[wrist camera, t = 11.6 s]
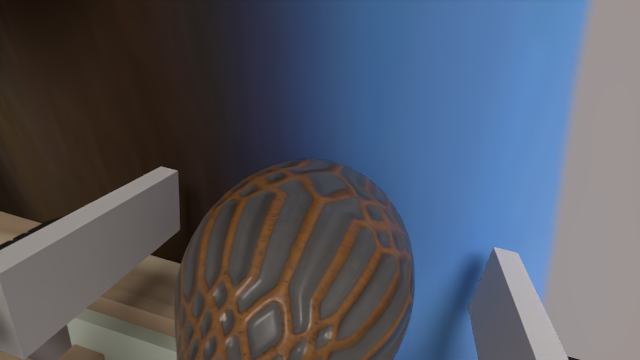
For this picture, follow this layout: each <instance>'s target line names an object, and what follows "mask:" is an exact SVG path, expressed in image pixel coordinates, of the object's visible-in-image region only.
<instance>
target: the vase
mask: <svg viewBox="0 0 640 360" xmlns="http://www.w3.org/2000/svg"><path fill="white" fill-rule="evenodd" d="M414 287H415V275H414V261H413V254H412V248H411V243H410V240H409V236H408V233H407V231H406V228H405V226H404V224H403V221H402V219H401V217H400V215H399V213H398V212H397V210H396V208H395V207H394V205H393V204H392V203H391V201H390V200H389V198H388V197H387V196H386V195H385V194H384V192H383V191H382V190H381V189H380V188H379V187H378V186H377V185H376V184H374V183H373V182H372V181H371V180H369V179H368V178H367V177H365V176H364V175H362V174H361V173H359V172H357V171H355V170H353V169H351V168H349V167H347V166H344V165H341V164H338V163H335V162H331V161H326V160H319V159H299V160H290V161H285V162H281V163H277V164H274V165H271V166H268V167H265V168H263V169H261V170H259V171H257V172H255V173H253V174H251V175H250V176H248V177H247V178H245V179H243V180H242V181H240V182H239V183H238V184H236V185H235V186H234V187H232V188H231V189H230V190H229V191H228V192H226V193H225V194H224V195H223V196H222V197H221V198H220V199H219V200H218V201H217V202H216V203H215V204H214V205H213V206H212V207H211V209H210V210H209V211H208V213H207V214H206V215H205V217H204V218H203V219H202V221H201V222H200V224H199V226H198V227H197V229H196V231H195V232H194V234H193V236H192V238H191V240H190V242H189V244H188V246H187V249H186V251H185V253H184V256H183V259H182V261H181V264H180V268H179V272H178V275H177V280H176V286H175V295H174V323H175V341H176V355H177V360H393V359H394V357H395V355H396V353H397V351H398V349H399V347H400V345H401V342H402V340H403V338H404V335H405V332H406V329H407V327H408V323H409V320H410V316H411V311H412V307H413V301H414Z"/></svg>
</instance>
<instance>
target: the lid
mask: <svg viewBox="0 0 640 360" xmlns="http://www.w3.org/2000/svg"><path fill="white" fill-rule="evenodd" d="M67 327H68V331H69V335H70V340H71V344H72V347H71V348H70V349H69V350H67V351H66V352H65V353H64V354H63V355H62V356H61V357H60V358H59V359H58V360H177V355H176V341H175V338H174V337H171V336H168V335H165V334H162V333H159V332H156V331H153V330H150V329H147V328H144V327H141V326H138V325H135V324H132V323H129V322H126V321H123V320H120V319H117V318H114V317H111V316H108V315H105V314H102V313H99V312H96V311H93V310H90V309H87V308H86V309H85V310H83V311H82V312H81V313H80V314H79V315H77V316H76V317H75V318H74V319H73V320H71V321H70V322H69V323H68V324H67Z"/></svg>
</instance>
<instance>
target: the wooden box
mask: <svg viewBox="0 0 640 360" xmlns="http://www.w3.org/2000/svg"><path fill="white" fill-rule="evenodd" d="M40 224H42V223H38V222H35V221H32V220H28V219H25V218H21V217H18V216H14V215H11V214H7V213H4V212H1V211H0V245H1V244H3V243H5V242H7V241H9V240H11V241H12V240H13V238H14V237H16V236H18V235H20V234H22V233H27V232H28V230H30V229H32V228H34V227H36V226H38V225H40ZM179 268H180V264H179V263H176V262H173V261H169V260H166V259H162V258H159V257H155V256H152V255H149V256H148V257H147V258H146V259H144V260H143V261H142V262H141V263H140V264H138V265H137V266H136V267H135V268H134V269H132V270H131V271H130V272H129V273H128V274H126V275H125V276H124V277H123V278H122V279H120V280H119V281H118V282H117V283H116V284H114V285H113V286H112V287H111V288H110V289H108V290H107V291H106V292H105V293H104V294H103V295H101V296H100V297H99V298H98V299H97V300H95V301H94V302H93V303H92V304H91V305H89V306H88V307H87V309H90V310H93V311H96V312H99V313H102V314H105V315H108V316H111V317H114V318H117V319H120V320H123V321H126V322H129V323H132V324H135V325H138V326H141V327H144V328H147V329H150V330H153V331H156V332H159V333H162V334H165V335H168V336H171V337H174V338H175V323H174V295H175V286H176V280H177V275H178V272H179ZM71 347H72V344H71V340H70V335H69V331H68V327H67V325H65V326H64V327H63V328H62V329H61V330H59V331H58V332H57V333H56V334H55V335H53V336H52V337H51V338H50V339H49V340H47V341H46V342H45V343H44V344H43V345H41V346H40V347H39V348H38V349H37V350H35V351H34V352H33V353H32V354H31V355H29V356H28V357H27V358H26V359H25V360H58V359H59V358H60V357H61V356H62V355H63V354H64V353H65V352H66V351H67V350H69V349H70V348H71ZM0 360H24V359H21V358H18V357H16V356H13V355H10V354H8V353H5V352H2V351H0Z"/></svg>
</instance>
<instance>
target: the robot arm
mask: <svg viewBox="0 0 640 360" xmlns="http://www.w3.org/2000/svg"><path fill="white" fill-rule="evenodd" d="M179 230H180V211H179V183H178V171H177V170H173V169H169V168H165V167H159V168H157V169H155V170H153V171H151V172H149V173H147V174H146V175H144V176H142V177H140V178H138V179H136V180H134V181H132V182H130V183H128V184H126V185H124V186H123V187H121V188H119V189H117V190H115V191H113V192H111V193H109V194H107V195H105V196H103V197H101V198H99V199H98V200H96V201H94V202H92V203H90V204H88V205H86V206H84V207H82V208H80V209H78V210H76V211H75V212H73V213H71V214H69V215H67V216H63V217H60V218H57V219H53V220H50V221H47V222H44V223H42V224H40V225H38V226H36V227H34V228H32V229H30V230H28V232H27V233H22V234H20V235H18V236H16V237H14V238H13V240H12V241H11V240H9V241H7V242H5V243H3V244H1V245H0V351H2V352H5V353H8V354H10V355H13V356H16V357H18V358H21V359H24V360H25V359H26V358H27V357H28V356H29V355H31V354H32V353H33V352H34V351H35V350H37V349H38V348H39V347H40V346H41V345H43V344H44V343H45V342H46V341H47V340H49V339H50V338H51V337H52V336H53V335H55V334H56V333H57V332H58V331H59V330H61V329H62V328H63V327H64V326H65V325H67V324H68V323H69V322H70V321H71V320H73V319H74V318H75V317H76V316H77V315H79V314H80V313H81V312H82V311H83V310H85V309H86V308H87V307H88V306H89V305H91V304H92V303H93V302H94V301H95V300H97V299H98V298H99V297H100V296H101V295H103V294H104V293H105V292H106V291H107V290H108V289H110V288H111V287H112V286H113V285H114V284H116V283H117V282H118V281H119V280H120V279H122V278H123V277H124V276H125V275H126V274H128V273H129V272H130V271H131V270H132V269H134V268H135V267H136V266H137V265H138V264H140V263H141V262H142V261H143V260H144V259H146V258H147V257H148V256H149V255H150V254H152V253H153V252H154V251H155V250H156V249H158V248H159V247H160V246H161V245H162V244H164V243H165V242H166V241H167V240H168V239H170V238H171V237H172V236H173V235H174V234H176V233H177V232H178V231H179ZM468 310H469V315H470V320H471V325H472V330H473V335H474V339H475V344H476V349H477V354H478V359H479V360H578V359H575V358H571V357H568V356H567V355H566V353H565V351H564V349H563V347H562V345H561V342H560V340H559V338H558V336H557V334H556V332H555V330H554V328H553V326H552V324H551V321H550V319H549V317H548V315H547V313H546V311H545V309H544V307H543V305H542V303H541V301H540V298H539V296H538V294H537V292H536V290H535V288H534V286H533V284H532V282H531V280H530V278H529V275H528V273H527V271H526V269H525V267H524V265H523V263H522V261H521V259H520V257H519V255H518V253H517V252H513V251H508V250H504V249H500V248H496V247H493V250H492V252H491V254H490V257H489V259H488V262H487V264H486V267H485V269H484V271H483V274H482V276H481V279H480V281H479V283H478V286H477V288H476V291H475V293H474V295H473V298H472V300H471V303H470V305H469V308H468Z"/></svg>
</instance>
